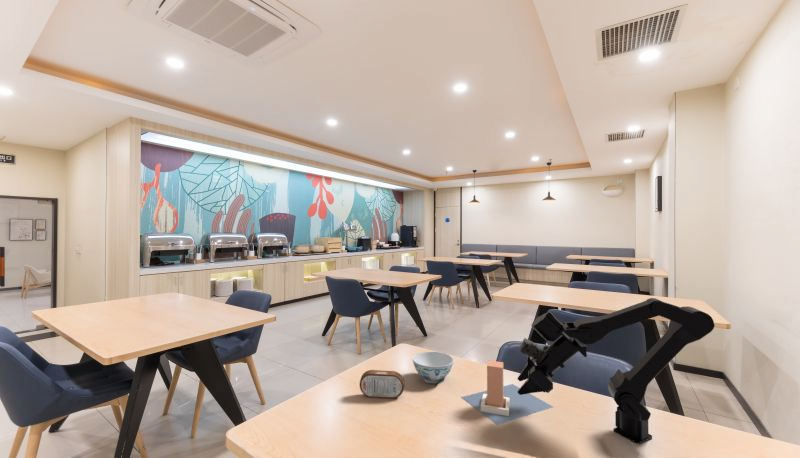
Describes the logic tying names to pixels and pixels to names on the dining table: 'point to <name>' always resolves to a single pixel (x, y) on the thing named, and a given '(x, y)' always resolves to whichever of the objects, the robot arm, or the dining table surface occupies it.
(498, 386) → the terracotta pillar
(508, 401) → the snap socket
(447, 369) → the chinaware
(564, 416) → the dining table surface
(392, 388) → the tin
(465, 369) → the dining table surface
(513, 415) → the board
